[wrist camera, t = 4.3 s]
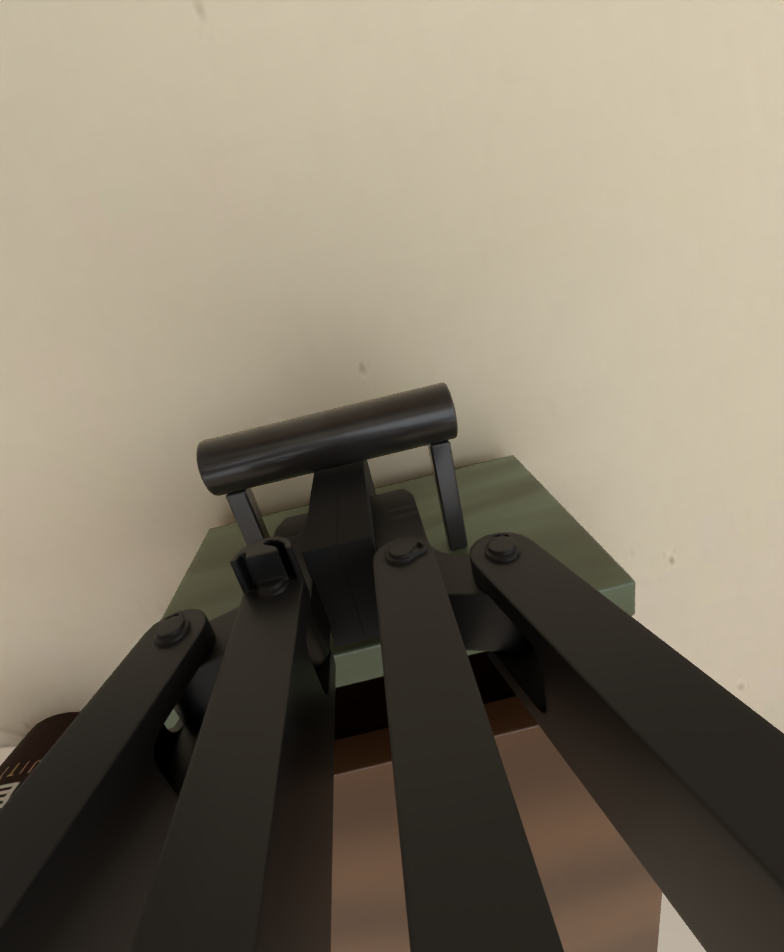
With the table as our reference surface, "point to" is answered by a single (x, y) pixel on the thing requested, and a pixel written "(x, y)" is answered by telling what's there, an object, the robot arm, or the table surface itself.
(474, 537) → the drawer
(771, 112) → the table surface
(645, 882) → the cabinet
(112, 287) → the table surface
